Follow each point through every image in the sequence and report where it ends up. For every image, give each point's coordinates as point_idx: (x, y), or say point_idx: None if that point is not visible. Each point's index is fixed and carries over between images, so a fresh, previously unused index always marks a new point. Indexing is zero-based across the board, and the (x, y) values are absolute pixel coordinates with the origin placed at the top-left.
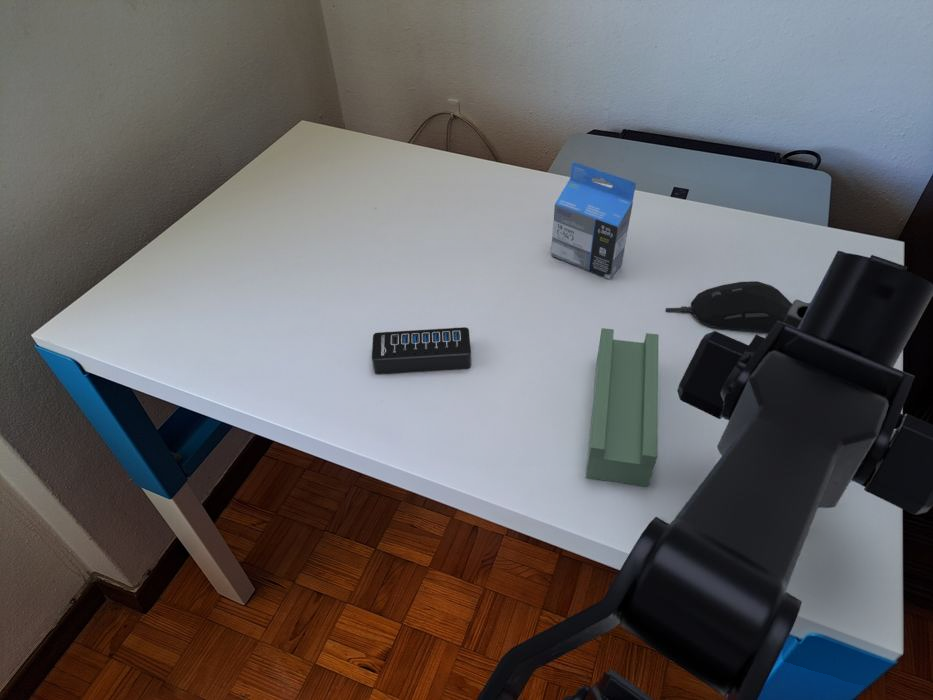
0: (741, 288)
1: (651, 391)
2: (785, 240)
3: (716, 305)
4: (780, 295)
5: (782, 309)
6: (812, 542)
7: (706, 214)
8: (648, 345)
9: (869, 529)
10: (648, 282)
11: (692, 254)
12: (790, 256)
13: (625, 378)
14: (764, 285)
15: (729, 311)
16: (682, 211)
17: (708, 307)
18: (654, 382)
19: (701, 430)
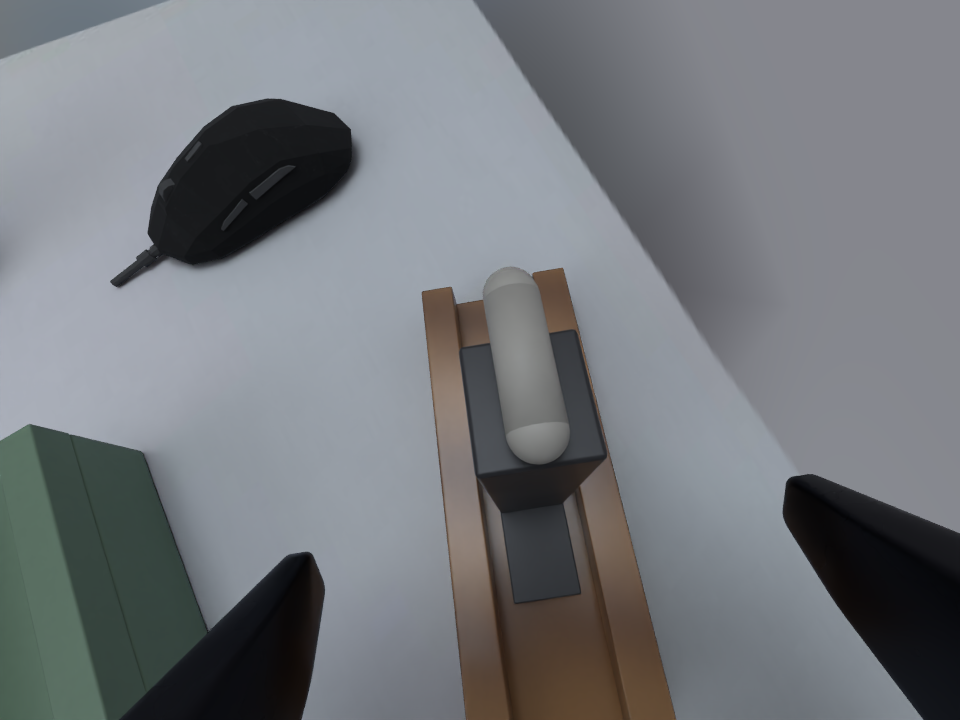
0: (198, 142)
1: (69, 673)
2: (260, 7)
3: (185, 212)
4: (290, 107)
5: (310, 134)
6: (707, 668)
7: (109, 39)
8: (9, 487)
9: (766, 518)
10: (57, 243)
11: (118, 129)
12: (283, 29)
13: (18, 629)
14: (243, 105)
15: (216, 209)
16: (64, 58)
17: (176, 227)
18: (68, 624)
19: (326, 543)
